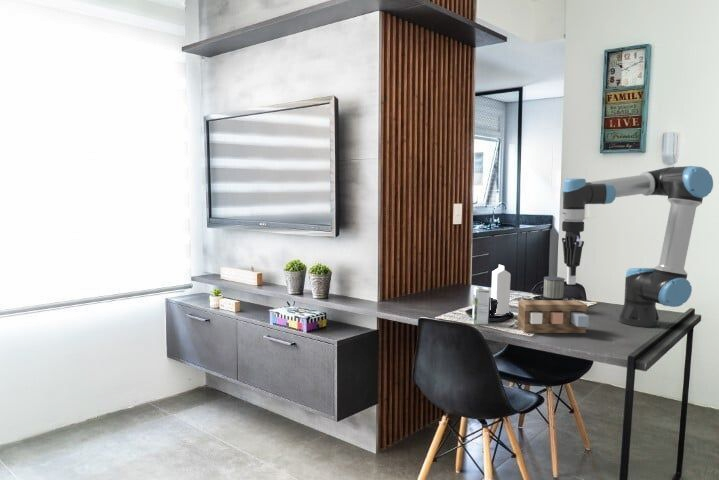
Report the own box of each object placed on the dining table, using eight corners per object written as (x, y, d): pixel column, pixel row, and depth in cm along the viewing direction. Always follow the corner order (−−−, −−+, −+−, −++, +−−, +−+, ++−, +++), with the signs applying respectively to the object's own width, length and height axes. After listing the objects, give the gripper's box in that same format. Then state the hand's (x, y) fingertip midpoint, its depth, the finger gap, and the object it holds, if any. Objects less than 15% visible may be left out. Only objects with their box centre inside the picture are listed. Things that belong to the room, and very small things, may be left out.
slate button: (577, 320, 215) (578, 310, 215) (588, 326, 206) (588, 316, 206) (567, 320, 215) (568, 310, 215) (577, 326, 206) (578, 316, 206)
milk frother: (567, 312, 248) (569, 279, 247) (536, 313, 245) (537, 280, 243) (549, 305, 262) (551, 274, 261) (519, 306, 258) (520, 275, 257)
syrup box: (471, 321, 229) (472, 286, 227) (486, 321, 228) (487, 286, 227) (474, 324, 223) (475, 289, 222) (488, 324, 223) (490, 289, 221)
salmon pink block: (553, 318, 219) (553, 308, 218) (562, 324, 210) (563, 313, 209) (543, 318, 219) (543, 308, 218) (552, 323, 210) (552, 313, 209)
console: (576, 327, 221) (577, 300, 220) (585, 332, 213) (587, 304, 212) (517, 327, 219) (518, 300, 218) (524, 332, 212) (525, 304, 210)
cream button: (533, 318, 218) (533, 308, 218) (542, 323, 209) (542, 313, 209) (523, 318, 218) (523, 308, 218) (531, 323, 209) (532, 313, 209)
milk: (503, 313, 243) (505, 264, 241) (508, 317, 237) (511, 266, 235) (489, 314, 242) (492, 264, 240) (495, 317, 236) (497, 266, 234)
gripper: (555, 219, 209) (553, 281, 212) (571, 222, 197) (569, 287, 199) (574, 219, 210) (572, 280, 213) (591, 221, 197) (589, 287, 200)
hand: (571, 283), depth 206 cm, fingers closed
